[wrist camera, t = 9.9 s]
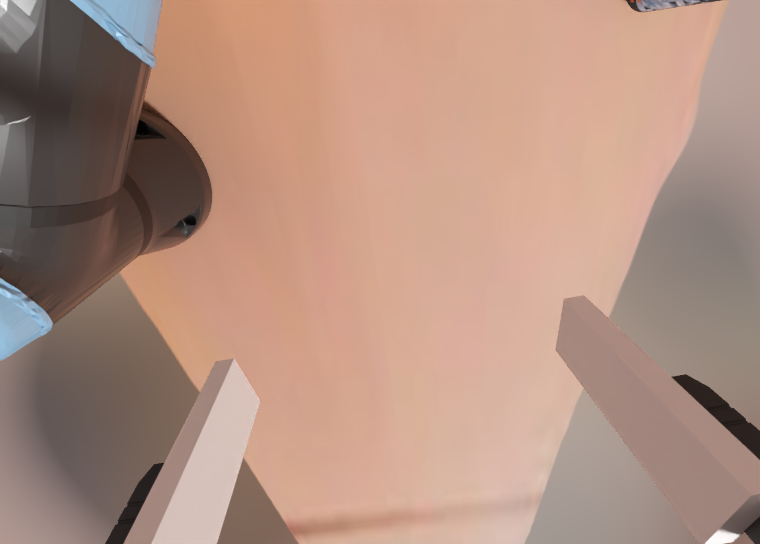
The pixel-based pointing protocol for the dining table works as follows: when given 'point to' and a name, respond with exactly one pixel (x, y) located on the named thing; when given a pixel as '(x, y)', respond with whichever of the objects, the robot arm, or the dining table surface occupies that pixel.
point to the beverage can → (662, 4)
